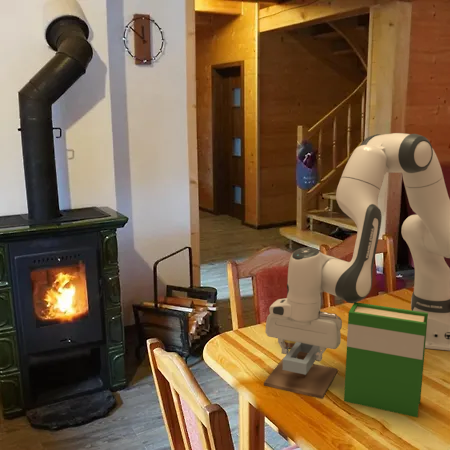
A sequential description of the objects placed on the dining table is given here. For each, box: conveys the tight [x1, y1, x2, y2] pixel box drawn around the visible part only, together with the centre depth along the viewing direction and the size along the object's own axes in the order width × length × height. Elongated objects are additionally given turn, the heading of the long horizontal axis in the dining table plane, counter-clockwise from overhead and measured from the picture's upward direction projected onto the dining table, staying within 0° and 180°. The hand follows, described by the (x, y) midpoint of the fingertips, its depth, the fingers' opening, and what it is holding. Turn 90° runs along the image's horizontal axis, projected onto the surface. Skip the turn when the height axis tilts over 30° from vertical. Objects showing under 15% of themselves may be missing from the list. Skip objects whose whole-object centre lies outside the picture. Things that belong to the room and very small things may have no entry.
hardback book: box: [343, 302, 428, 418], centre depth 135 cm, size 18×7×24 cm, turn 66°
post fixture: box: [263, 352, 338, 400], centre depth 148 cm, size 16×16×7 cm
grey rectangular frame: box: [282, 342, 322, 375], centre depth 148 cm, size 14×6×3 cm, turn 155°
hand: (301, 356), depth 148 cm, fingers open, 8 cm apart
